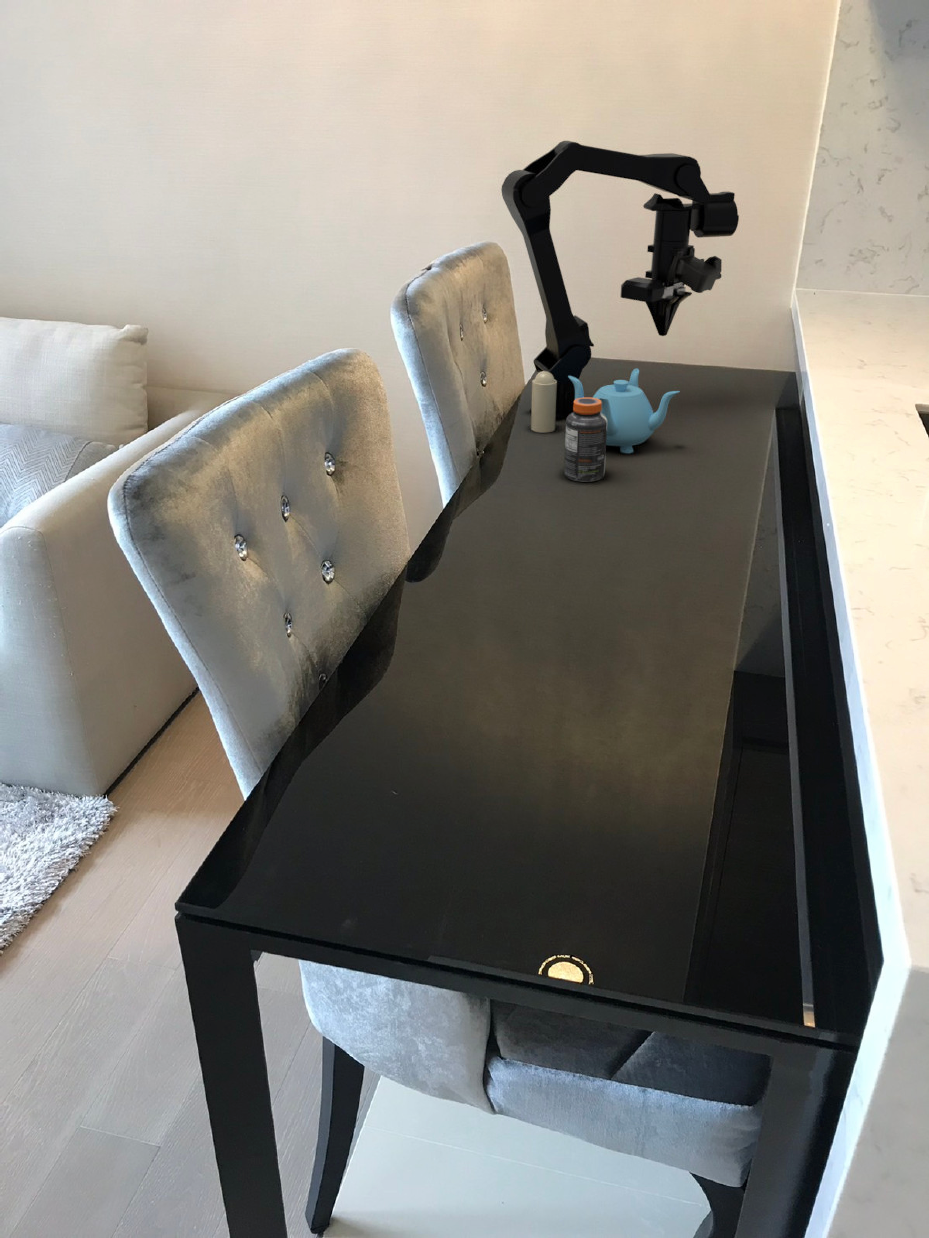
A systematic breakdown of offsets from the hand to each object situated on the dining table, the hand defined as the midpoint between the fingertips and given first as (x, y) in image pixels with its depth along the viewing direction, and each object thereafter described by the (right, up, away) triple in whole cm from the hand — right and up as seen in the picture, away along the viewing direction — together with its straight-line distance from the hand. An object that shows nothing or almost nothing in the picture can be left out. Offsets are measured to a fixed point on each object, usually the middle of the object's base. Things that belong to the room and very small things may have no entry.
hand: (662, 335), depth 171 cm
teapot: (-10, -21, -12) cm, 26 cm away
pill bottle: (-16, -28, -24) cm, 40 cm away
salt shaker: (-21, -17, -5) cm, 27 cm away
